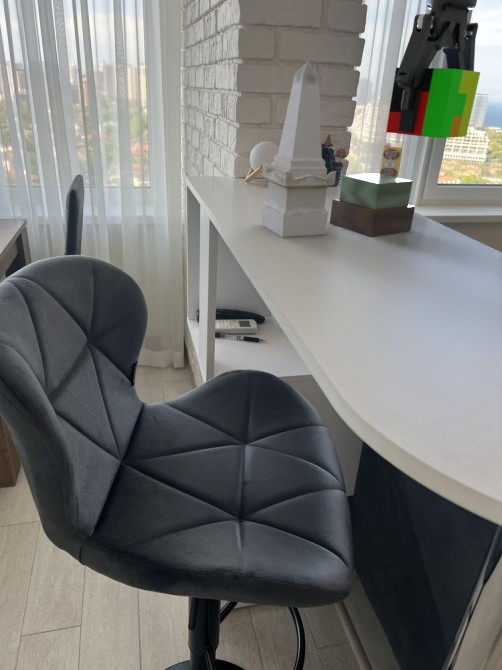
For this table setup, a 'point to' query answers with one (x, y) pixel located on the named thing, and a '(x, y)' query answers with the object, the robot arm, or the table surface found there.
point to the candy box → (391, 159)
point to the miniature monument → (299, 166)
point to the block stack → (373, 204)
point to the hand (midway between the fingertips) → (426, 131)
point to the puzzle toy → (438, 103)
